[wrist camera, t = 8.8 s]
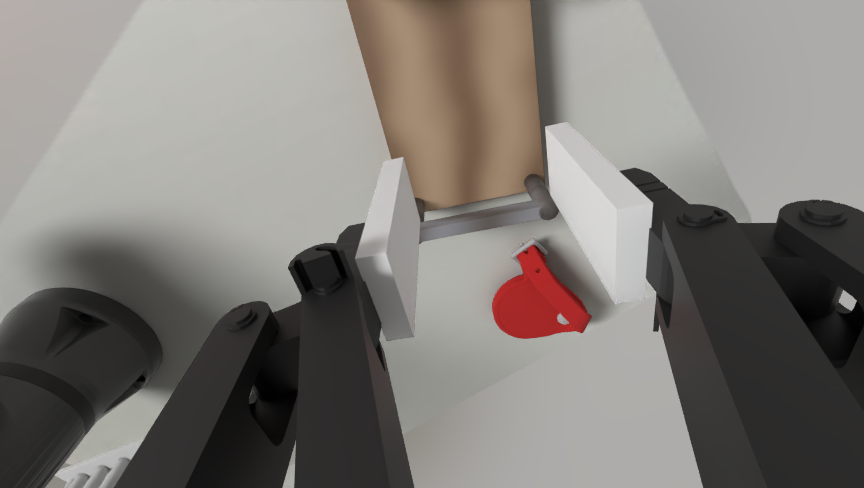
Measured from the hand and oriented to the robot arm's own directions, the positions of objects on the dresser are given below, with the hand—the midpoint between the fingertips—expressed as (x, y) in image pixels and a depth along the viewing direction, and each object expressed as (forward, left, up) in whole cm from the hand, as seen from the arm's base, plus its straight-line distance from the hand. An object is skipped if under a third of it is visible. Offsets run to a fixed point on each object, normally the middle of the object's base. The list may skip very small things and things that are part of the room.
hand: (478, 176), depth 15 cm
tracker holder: (0, -20, -18) cm, 26 cm away
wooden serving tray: (0, 0, -20) cm, 20 cm away
